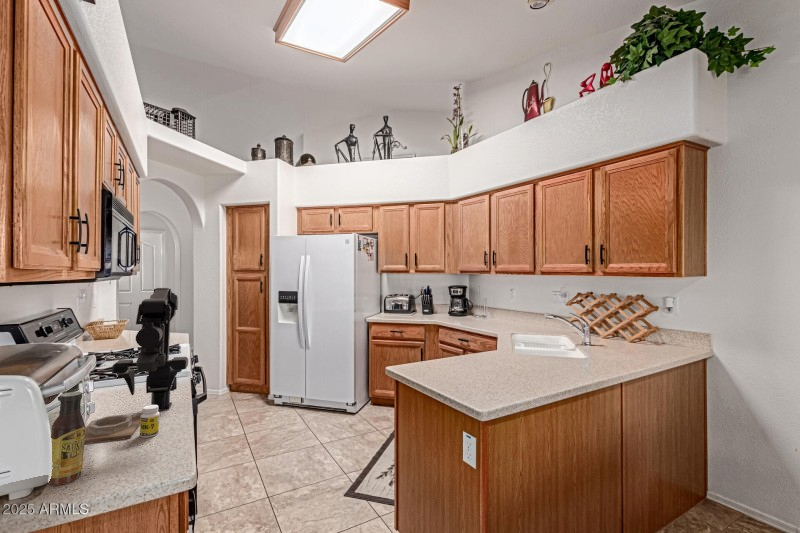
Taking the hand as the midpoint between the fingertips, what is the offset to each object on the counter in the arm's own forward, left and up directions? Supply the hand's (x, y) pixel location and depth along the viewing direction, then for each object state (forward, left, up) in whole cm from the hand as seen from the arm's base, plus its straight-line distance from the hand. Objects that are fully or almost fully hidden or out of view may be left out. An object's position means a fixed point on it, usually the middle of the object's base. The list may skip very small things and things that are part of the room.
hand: (150, 393), depth 115 cm
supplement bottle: (0, 0, -13) cm, 13 cm away
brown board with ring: (-7, -11, -12) cm, 18 cm away
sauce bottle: (+22, -12, -13) cm, 28 cm away
